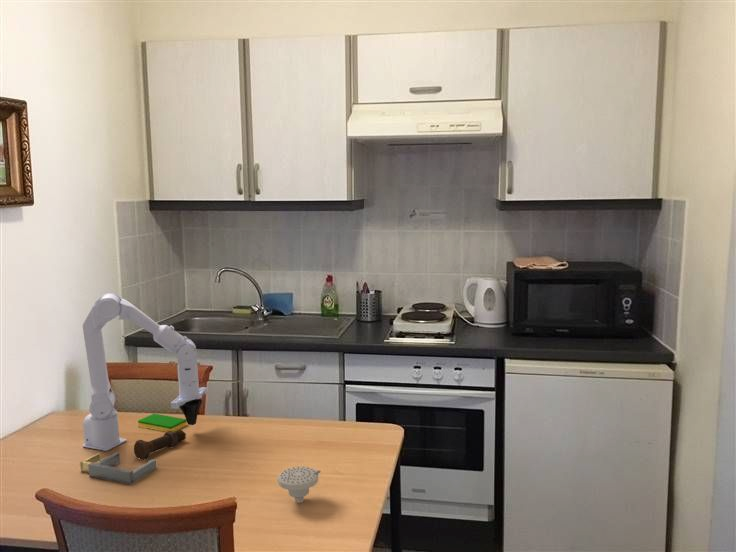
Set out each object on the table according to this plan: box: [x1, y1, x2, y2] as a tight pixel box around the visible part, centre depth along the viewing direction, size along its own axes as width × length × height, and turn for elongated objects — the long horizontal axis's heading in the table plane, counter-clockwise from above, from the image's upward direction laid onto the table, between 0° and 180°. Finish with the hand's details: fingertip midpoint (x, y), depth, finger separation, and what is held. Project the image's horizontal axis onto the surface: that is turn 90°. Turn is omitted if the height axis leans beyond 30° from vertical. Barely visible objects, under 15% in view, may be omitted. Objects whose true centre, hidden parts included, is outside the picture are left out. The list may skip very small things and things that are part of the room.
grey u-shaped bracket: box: [88, 452, 157, 486], centre depth 171 cm, size 14×10×3 cm
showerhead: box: [277, 466, 322, 504], centre depth 153 cm, size 9×7×10 cm
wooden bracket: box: [79, 452, 111, 473], centre depth 175 cm, size 5×6×2 cm
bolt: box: [133, 429, 187, 461], centre depth 185 cm, size 6×5×15 cm
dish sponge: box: [137, 413, 188, 433], centre depth 204 cm, size 7×14×2 cm, turn 63°
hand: (191, 424), depth 197 cm, fingers closed
